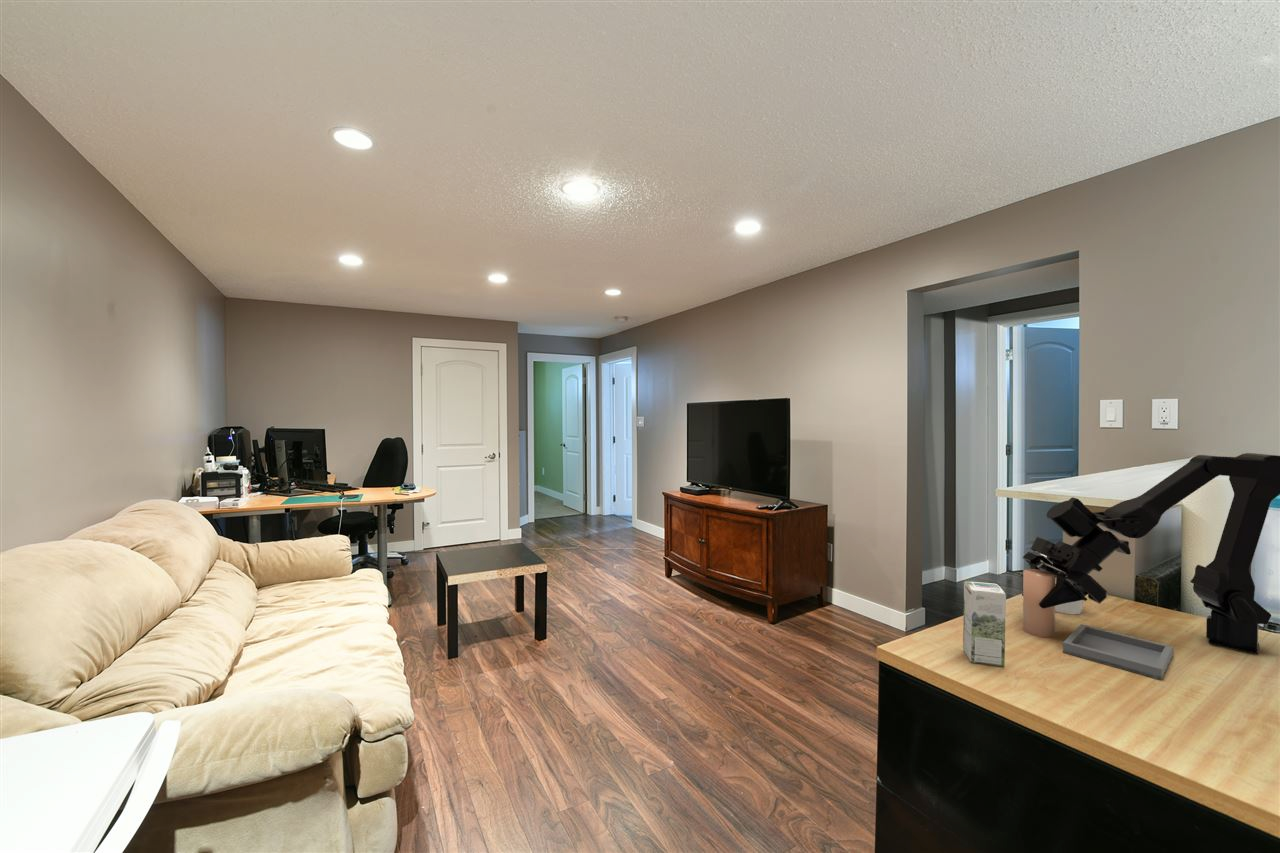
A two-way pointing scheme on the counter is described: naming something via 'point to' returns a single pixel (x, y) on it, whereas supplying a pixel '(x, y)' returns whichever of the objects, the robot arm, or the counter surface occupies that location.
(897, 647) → the counter surface
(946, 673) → the counter surface
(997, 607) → the syrup box
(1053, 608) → the peach rounded cylinder
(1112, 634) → the tray
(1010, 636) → the counter surface
